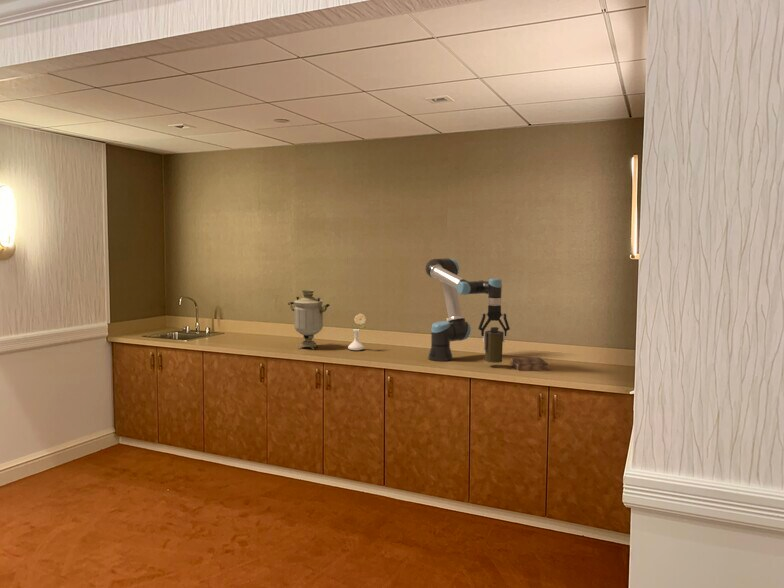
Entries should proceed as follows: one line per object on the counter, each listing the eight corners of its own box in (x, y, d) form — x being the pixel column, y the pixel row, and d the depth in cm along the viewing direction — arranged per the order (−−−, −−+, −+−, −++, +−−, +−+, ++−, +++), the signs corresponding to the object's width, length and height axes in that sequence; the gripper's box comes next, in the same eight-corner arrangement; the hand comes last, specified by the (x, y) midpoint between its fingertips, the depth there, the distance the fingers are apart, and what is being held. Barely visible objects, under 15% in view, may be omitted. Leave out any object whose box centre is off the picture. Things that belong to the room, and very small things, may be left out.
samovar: (340, 346, 423) (339, 289, 419) (316, 352, 400) (315, 292, 397) (307, 342, 438) (306, 287, 435) (282, 347, 416) (281, 290, 413)
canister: (497, 358, 364) (498, 325, 362) (505, 362, 355) (506, 328, 353) (480, 359, 361) (481, 326, 359) (489, 363, 351) (490, 329, 349)
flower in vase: (345, 350, 406) (345, 314, 404) (351, 347, 417) (351, 312, 415) (363, 352, 402) (363, 314, 400) (369, 349, 413) (369, 312, 411)
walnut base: (518, 370, 347) (518, 363, 347) (510, 364, 365) (510, 357, 365) (548, 370, 348) (549, 363, 347) (540, 363, 366) (540, 357, 365)
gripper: (476, 305, 350) (475, 342, 352) (515, 305, 351) (514, 342, 353) (473, 304, 358) (472, 340, 360) (512, 304, 358) (511, 340, 361)
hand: (493, 341), depth 357 cm, fingers closed on canister, 11 cm apart
